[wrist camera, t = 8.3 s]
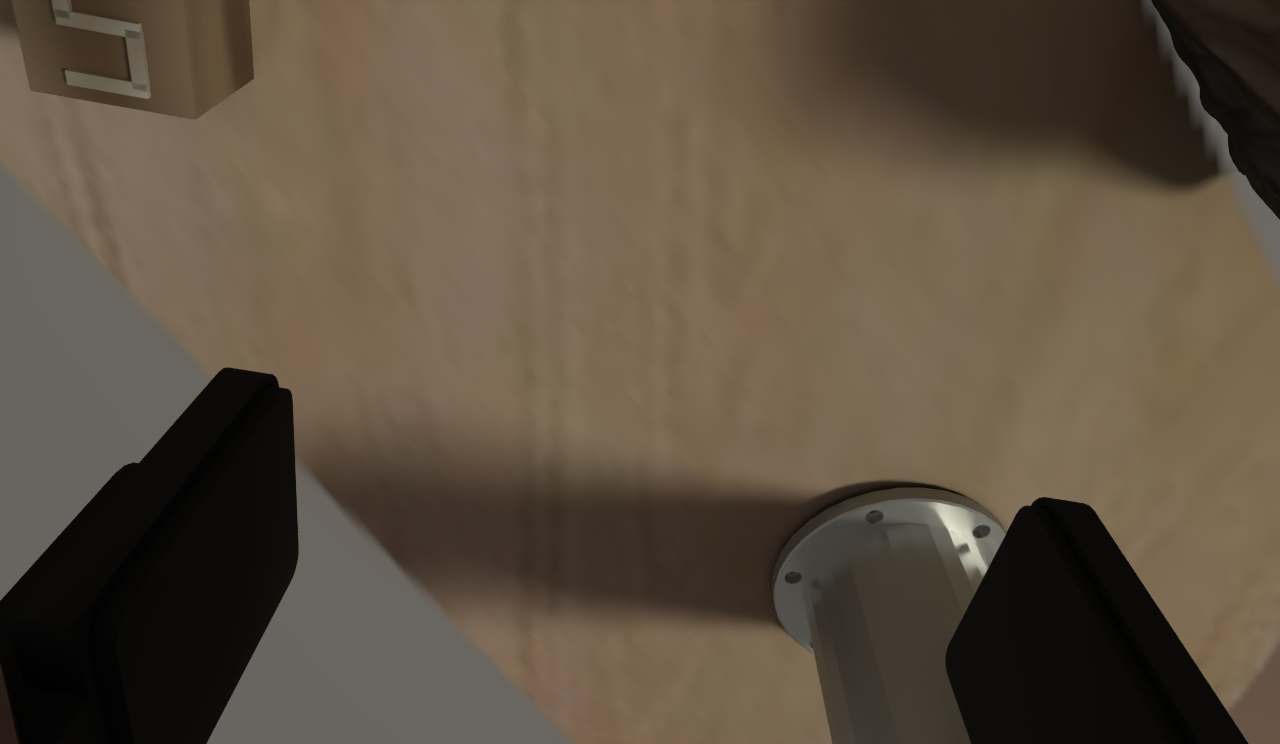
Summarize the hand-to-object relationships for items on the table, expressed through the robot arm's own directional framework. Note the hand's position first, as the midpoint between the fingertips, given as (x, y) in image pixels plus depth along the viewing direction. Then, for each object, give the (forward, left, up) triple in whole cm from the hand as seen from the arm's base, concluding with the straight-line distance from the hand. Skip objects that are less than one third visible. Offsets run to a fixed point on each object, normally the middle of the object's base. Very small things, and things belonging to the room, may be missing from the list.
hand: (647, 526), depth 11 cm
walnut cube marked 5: (+16, +1, -24) cm, 29 cm away
